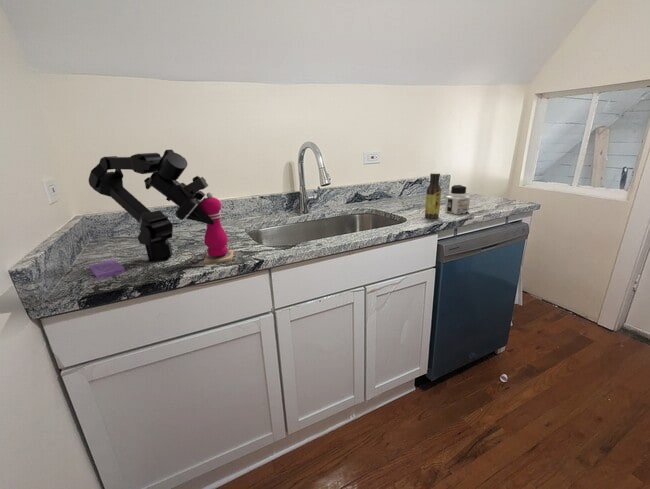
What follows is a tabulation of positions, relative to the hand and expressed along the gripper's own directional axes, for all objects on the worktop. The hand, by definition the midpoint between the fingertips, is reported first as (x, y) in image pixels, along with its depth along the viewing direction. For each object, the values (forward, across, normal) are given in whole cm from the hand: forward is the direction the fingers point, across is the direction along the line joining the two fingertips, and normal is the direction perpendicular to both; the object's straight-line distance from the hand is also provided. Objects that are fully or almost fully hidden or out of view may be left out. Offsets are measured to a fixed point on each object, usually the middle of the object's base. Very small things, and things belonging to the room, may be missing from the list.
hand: (214, 221), depth 98 cm
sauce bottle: (+73, +26, -56) cm, 96 cm away
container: (+84, +31, -68) cm, 112 cm away
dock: (+8, 0, +9) cm, 12 cm away
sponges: (-14, -1, +33) cm, 36 cm away
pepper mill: (+7, 0, +8) cm, 11 cm away
